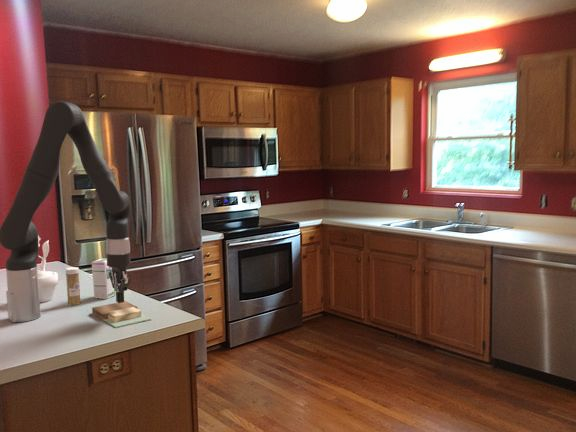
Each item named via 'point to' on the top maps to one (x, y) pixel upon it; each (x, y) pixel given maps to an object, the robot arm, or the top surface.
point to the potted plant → (46, 277)
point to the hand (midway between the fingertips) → (120, 302)
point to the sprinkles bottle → (73, 285)
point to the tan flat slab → (110, 309)
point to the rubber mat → (127, 321)
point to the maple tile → (124, 314)
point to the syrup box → (102, 279)
